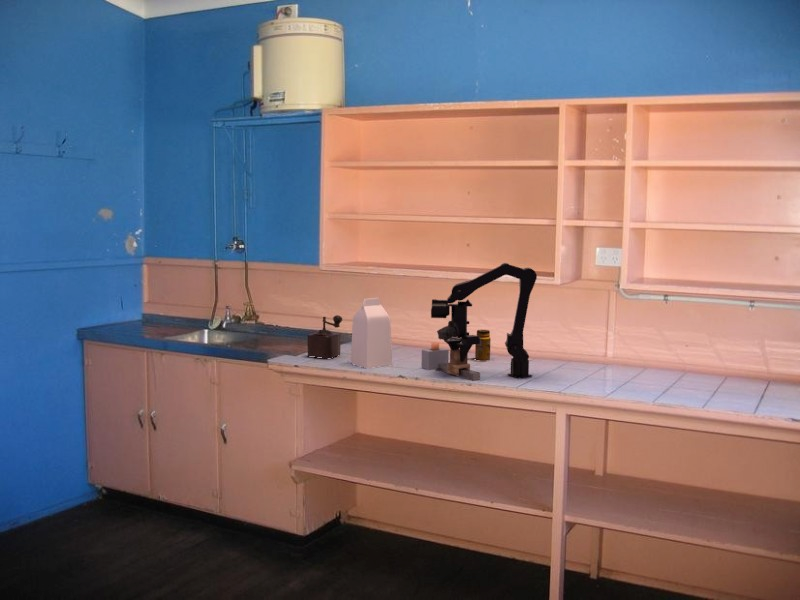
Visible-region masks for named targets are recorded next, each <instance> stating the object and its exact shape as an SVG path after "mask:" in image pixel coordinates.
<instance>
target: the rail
mask: <svg viewBox="0 0 800 600" xmlns="http://www.w3.org/2000/svg"><path fill="white" fill-rule="evenodd" d="M435 371H436V372H444V373H447V363H439V364H438V368H437V369H435ZM447 374H448V373H447ZM457 377H460V378H464V379H467V380H471V381H479V380H481V372H479V371H475V370H471V369H470V370H468V369H465V368H460V369H459V375H458V376H457Z"/></svg>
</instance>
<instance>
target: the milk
mask: <svg viewBox="0 0 800 600" xmlns="http://www.w3.org/2000/svg"><path fill="white" fill-rule="evenodd" d="M351 328H352V329H351V330H352V331H351V349H350V351H351V353H350V364H351V363H352V364H355V365H358V366H357V367H359V366H361V367H360V368H363V367H365V368H364V369H366V368H369V369H373V368H372V367H377V368H379V367H378V366H385V367H387V366H386V365H392V366H393V365H394V363H393V349H392V348H393V347H392V344H393V343H392V327H391V318H390V315H389V314H388V313H387V311H386V309H385V308H384V307H383V305H382V303H381V300H380V298H379V297H369V298H364V299H363V302H362V305H361V306H360V307H359V309H357V311H356V312H355V313H354V315H353V317H352V327H351ZM352 364H351V365H352ZM355 365H354V366H355Z"/></svg>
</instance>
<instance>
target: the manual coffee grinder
mask: <svg viewBox="0 0 800 600" xmlns="http://www.w3.org/2000/svg"><path fill="white" fill-rule="evenodd" d="M332 320H333V322H334V323H333V322H329V321H327V318H326V316H323V317H322V322H323V323H322V329H319V330H318V331H316V332H314V333H310V334H307V357H308V356H315V357H322V358H332V357H335V356H338V355H340V354H341V339H342V338H341V333H335V332H332V331H331V330H329V329H326V324H327V325H330V326H332V327H334V328H339V327H341V326H340V324H341V323H342V321H343V317H342V315H341V316H340V315H339V314H338V315H337V314H336V315H334V316H333V317H332ZM340 356H341V355H340ZM338 357H339V356H338ZM335 358H336V357H335ZM332 359H333V358H332Z"/></svg>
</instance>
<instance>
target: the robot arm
mask: <svg viewBox="0 0 800 600" xmlns="http://www.w3.org/2000/svg"><path fill="white" fill-rule="evenodd" d="M506 275H507V276H509V277H513V278H516V279H519V281H518V283H519V284H518V286H519V294H518V300H517V304H516V309H515V314H514V315H515V316H514V321H513V327H512V330H511V332H510V333H508V332H507V333H506V341H505V342H504V345H505V347H506V351H507V353H508V355H510V356H511V358H510V360H511V361H510V372H509V373H507V376H509V377H513V378H517V379H522V378H530V377H533V375H532V374H530V371H529V370H530V360H529V358H530V355H529V353H528V351H527V350H526V349H525V348H524V328H525V324H526V320H527V319H526V317H527V314H528V313H527V312H528V307H529V302H530V298H531V297H530V296H531V293H532V292H533V289H534V287H535V284H536V282H537V275H538V274H537V272H536V271H535V270H534V269H533V268H531V267H524V268H522V267H519V266H516V265H511V264H509V263H507V262H503V263H501V264H500V265H499V266H496V267H495V268H492V269H490V270H489V271H486V272H484V273H483V274H481V275H478V276H477V277H475V278H473V279H469V280H465V281H462V282H459V283H456V284H455V285H453V286H452V288H451V293H450V295H449V296H448V297H447V299H435V298H434V299H431V308H430V318H431V319H447V317H448V316H451V320H448V323H447V325H446V326H443V327H442V328H439V329H438V330H437V331H436V332H437V336H438V337H437V338H438V339H439V340H443V341H444V342H445V343H446V344H447V345H448V346H449V348H450V349H449V350H458V349H460V359H461V362H464V360H465V358H466V356H467V354H469V352H470V351H471V348H472V346H474V345H475V344H480V337H479V336H477V334H475V335H474V334H470V331H469V332H468V325H470V321H469V320H468V307H473V303H472V302H470V300H469V299H466V298H467V297H469V296H470V295H471V294H473V293H474V292H476V291H477V290H478V289H480V288H482V287H484V286H486V285H488V284H489V283H491V282H493V281H495V280H497V279H500V278H502V277H503V276H506ZM465 299H466V300H465ZM464 300H465V301H464ZM456 302H457V303H456ZM450 307H451V308H450ZM450 309H451V311H450ZM450 312H451V313H450ZM450 314H451V315H450Z"/></svg>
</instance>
